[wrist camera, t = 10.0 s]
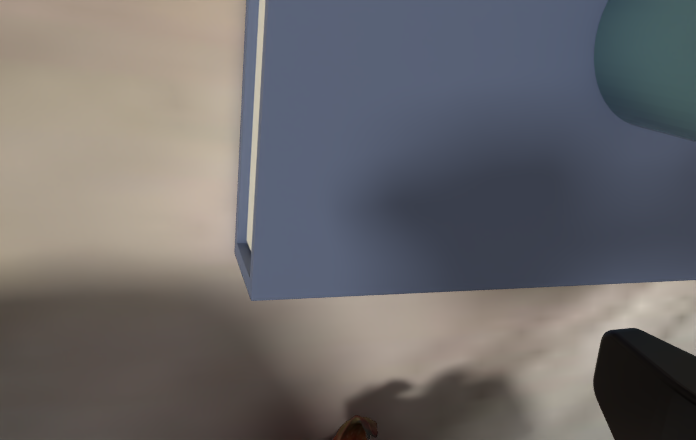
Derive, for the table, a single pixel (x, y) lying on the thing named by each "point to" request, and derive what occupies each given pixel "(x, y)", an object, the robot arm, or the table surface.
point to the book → (446, 154)
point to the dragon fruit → (357, 429)
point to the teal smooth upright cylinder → (649, 64)
